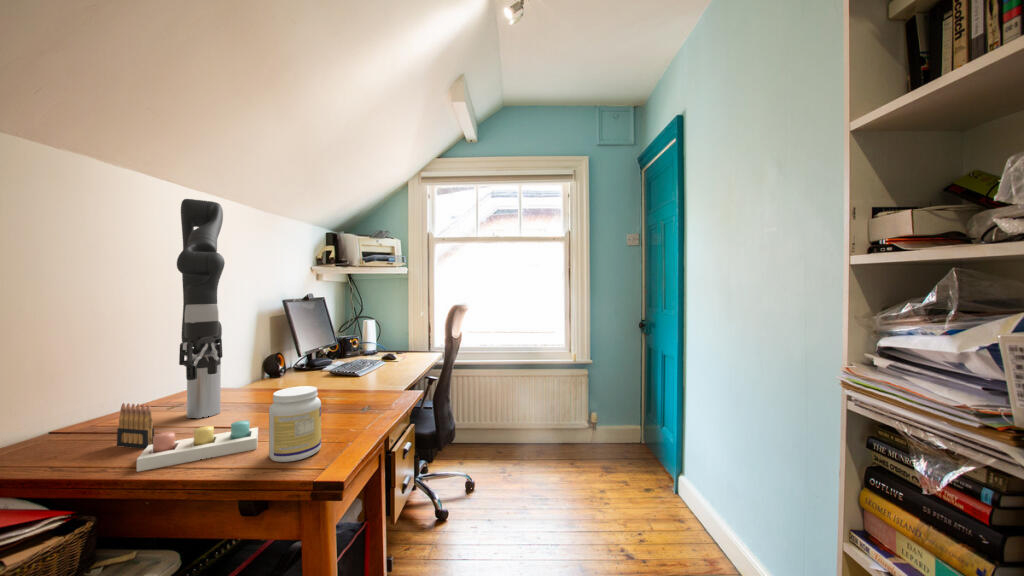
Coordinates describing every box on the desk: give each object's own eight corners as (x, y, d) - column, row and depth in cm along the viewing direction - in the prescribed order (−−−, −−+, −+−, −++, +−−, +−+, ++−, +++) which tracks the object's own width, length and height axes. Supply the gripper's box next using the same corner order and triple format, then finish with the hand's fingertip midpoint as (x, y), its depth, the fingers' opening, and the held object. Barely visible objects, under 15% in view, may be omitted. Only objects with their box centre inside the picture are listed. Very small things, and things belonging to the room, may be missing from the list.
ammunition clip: (116, 446, 105) (116, 403, 105) (124, 443, 107) (124, 401, 107) (147, 449, 103) (147, 405, 103) (154, 446, 105) (154, 403, 105)
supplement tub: (330, 450, 102) (330, 388, 102) (284, 468, 92) (285, 399, 92) (305, 441, 108) (305, 383, 109) (259, 457, 98) (259, 392, 98)
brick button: (155, 449, 97) (155, 433, 97) (176, 446, 99) (176, 430, 99) (150, 455, 93) (150, 439, 94) (173, 452, 96) (173, 435, 96)
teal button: (231, 436, 106) (231, 422, 106) (249, 433, 108) (249, 419, 108) (230, 442, 102) (230, 426, 102) (248, 438, 104) (249, 423, 104)
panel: (148, 456, 98) (148, 445, 98) (258, 437, 111) (258, 427, 111) (136, 471, 90) (136, 459, 90) (256, 449, 103) (256, 438, 103)
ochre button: (195, 443, 101) (195, 427, 101) (214, 439, 104) (214, 424, 104) (192, 448, 98) (192, 432, 98) (212, 445, 100) (212, 429, 100)
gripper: (204, 320, 114) (204, 373, 113) (168, 322, 100) (168, 382, 99) (231, 318, 115) (231, 371, 114) (199, 320, 101) (199, 380, 100)
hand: (202, 376), depth 107 cm, fingers open, 8 cm apart
